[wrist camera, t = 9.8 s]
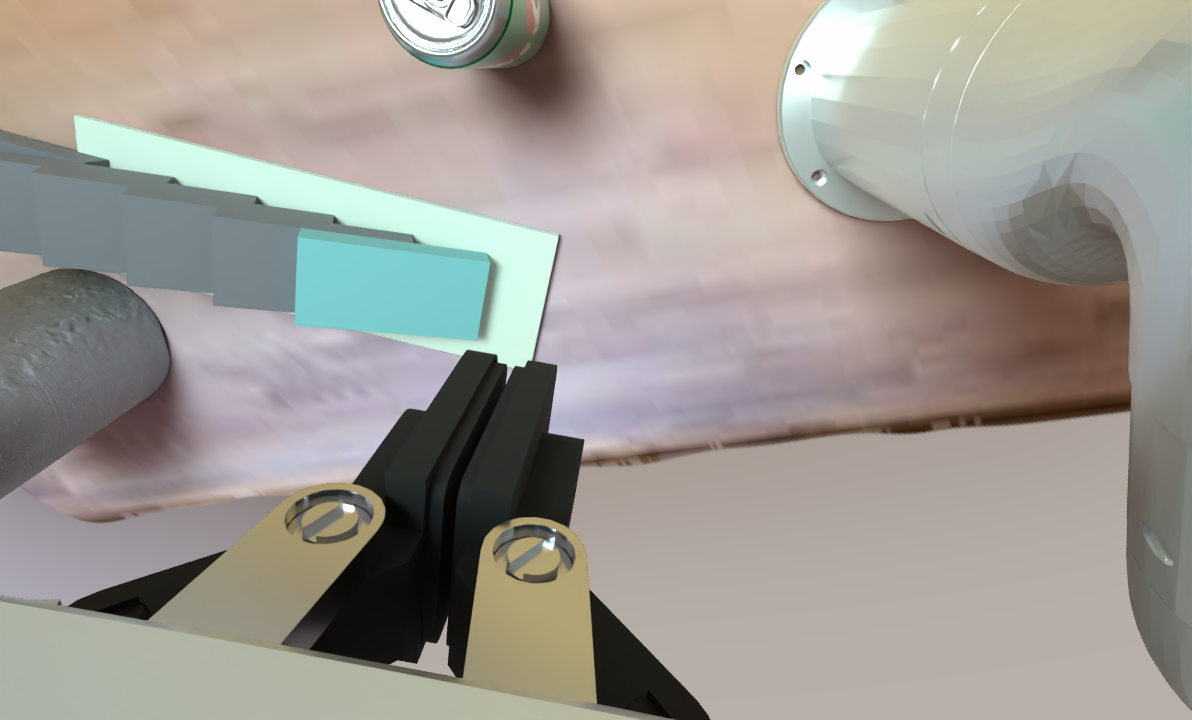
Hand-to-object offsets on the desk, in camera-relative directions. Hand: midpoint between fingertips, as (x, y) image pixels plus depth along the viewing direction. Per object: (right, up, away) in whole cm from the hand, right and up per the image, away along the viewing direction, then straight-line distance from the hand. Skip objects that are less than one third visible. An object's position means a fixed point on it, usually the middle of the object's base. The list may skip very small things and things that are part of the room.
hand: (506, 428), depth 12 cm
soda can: (-3, +19, +22) cm, 29 cm away
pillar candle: (-31, +3, +31) cm, 44 cm away
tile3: (-14, +7, +26) cm, 30 cm away
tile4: (-18, +8, +26) cm, 33 cm away
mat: (-15, +8, +27) cm, 32 cm away
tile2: (-9, +6, +26) cm, 29 cm away
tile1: (-5, +5, +26) cm, 27 cm away
